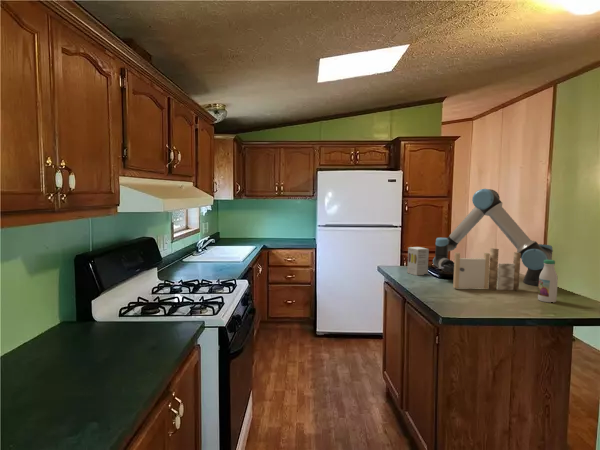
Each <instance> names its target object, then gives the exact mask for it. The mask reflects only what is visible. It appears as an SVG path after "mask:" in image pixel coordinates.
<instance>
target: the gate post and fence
mask: <svg viewBox="0 0 600 450" xmlns="http://www.w3.org/2000/svg"><path fill="white" fill-rule="evenodd" d="M489 250H490V251H489V254H490V260H489V280H488V290H491V291H497V290H499V291H501V290H503V291H507V290H508V291H519V290H520V287H519V286H520V276H521V275H520V274H521V272H520V271H521V258H520V257H521V253H517V251H516V252H513V263H499V252H500V251H499V248H490V249H489Z"/></svg>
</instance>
